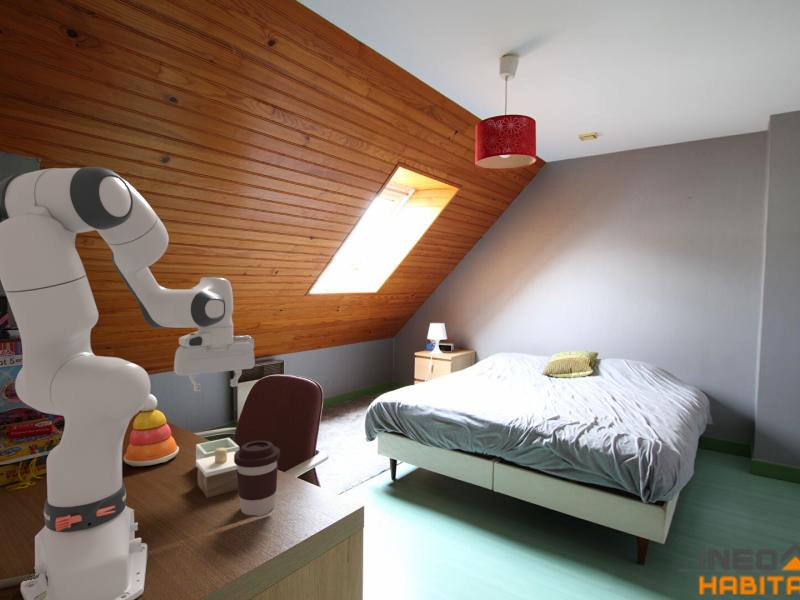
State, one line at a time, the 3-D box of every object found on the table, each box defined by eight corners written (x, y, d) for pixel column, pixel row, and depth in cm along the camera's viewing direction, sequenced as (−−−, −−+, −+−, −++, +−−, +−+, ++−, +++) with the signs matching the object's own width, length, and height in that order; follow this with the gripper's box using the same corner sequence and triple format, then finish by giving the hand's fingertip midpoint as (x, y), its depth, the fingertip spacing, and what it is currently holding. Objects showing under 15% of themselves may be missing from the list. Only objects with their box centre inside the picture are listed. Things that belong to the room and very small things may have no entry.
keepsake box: (245, 490, 112) (244, 466, 112) (207, 501, 107) (207, 476, 107) (233, 477, 120) (233, 455, 119) (197, 487, 114) (197, 464, 114)
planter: (239, 471, 123) (239, 446, 123) (205, 480, 118) (204, 454, 118) (229, 461, 131) (229, 437, 130) (196, 469, 125) (195, 444, 125)
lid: (246, 469, 112) (246, 451, 112) (206, 479, 106) (205, 460, 106) (234, 457, 120) (234, 440, 120) (195, 466, 114) (195, 448, 114)
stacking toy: (181, 447, 141) (180, 386, 140) (176, 465, 128) (174, 397, 127) (129, 454, 136) (127, 390, 135) (118, 472, 123) (116, 402, 122)
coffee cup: (240, 526, 96) (239, 457, 95) (230, 506, 104) (229, 442, 104) (286, 513, 101) (285, 447, 101) (273, 495, 110) (272, 435, 109)
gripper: (250, 334, 130) (250, 381, 130) (172, 338, 117) (172, 391, 117) (258, 335, 125) (258, 385, 125) (177, 340, 112) (178, 396, 112)
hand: (216, 388), depth 121 cm, fingers open, 8 cm apart
